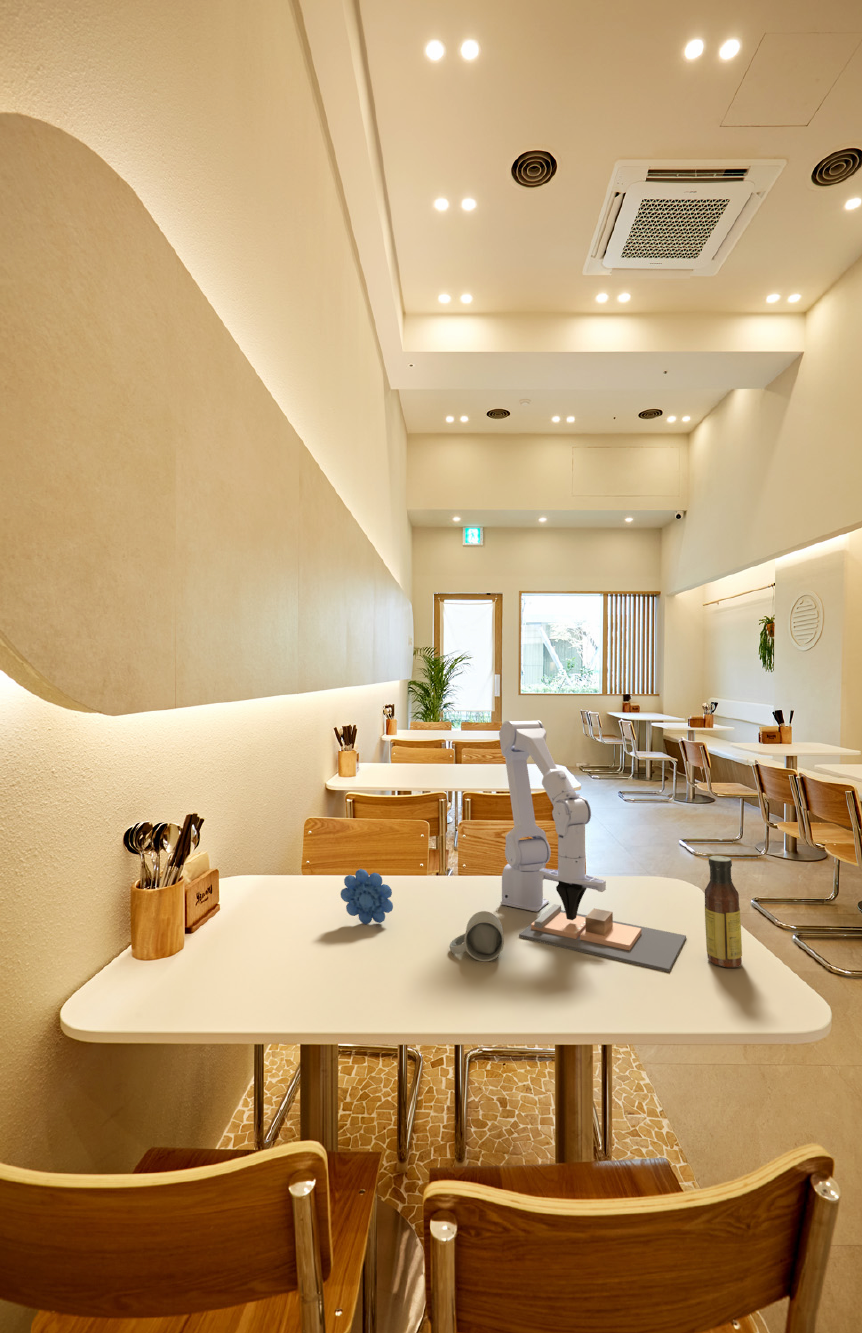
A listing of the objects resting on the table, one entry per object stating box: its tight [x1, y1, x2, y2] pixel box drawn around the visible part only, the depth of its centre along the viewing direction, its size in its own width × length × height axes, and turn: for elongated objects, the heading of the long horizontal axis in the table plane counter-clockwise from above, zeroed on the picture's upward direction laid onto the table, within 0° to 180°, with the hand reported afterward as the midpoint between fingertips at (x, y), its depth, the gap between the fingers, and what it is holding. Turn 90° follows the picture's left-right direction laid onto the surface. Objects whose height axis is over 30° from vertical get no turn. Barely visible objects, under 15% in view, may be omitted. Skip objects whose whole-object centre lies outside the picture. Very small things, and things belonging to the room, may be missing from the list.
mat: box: [518, 909, 687, 973], centre depth 132 cm, size 30×18×1 cm, turn 59°
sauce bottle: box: [704, 855, 743, 969], centre depth 121 cm, size 6×6×20 cm
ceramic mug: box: [449, 910, 505, 963], centre depth 125 cm, size 11×8×8 cm
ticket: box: [530, 903, 585, 939], centre depth 137 cm, size 10×12×2 cm
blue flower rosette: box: [340, 868, 394, 925], centre depth 138 cm, size 12×7×12 cm, turn 91°
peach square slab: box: [580, 908, 641, 951], centre depth 131 cm, size 10×10×4 cm
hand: (571, 918), depth 135 cm, fingers closed
